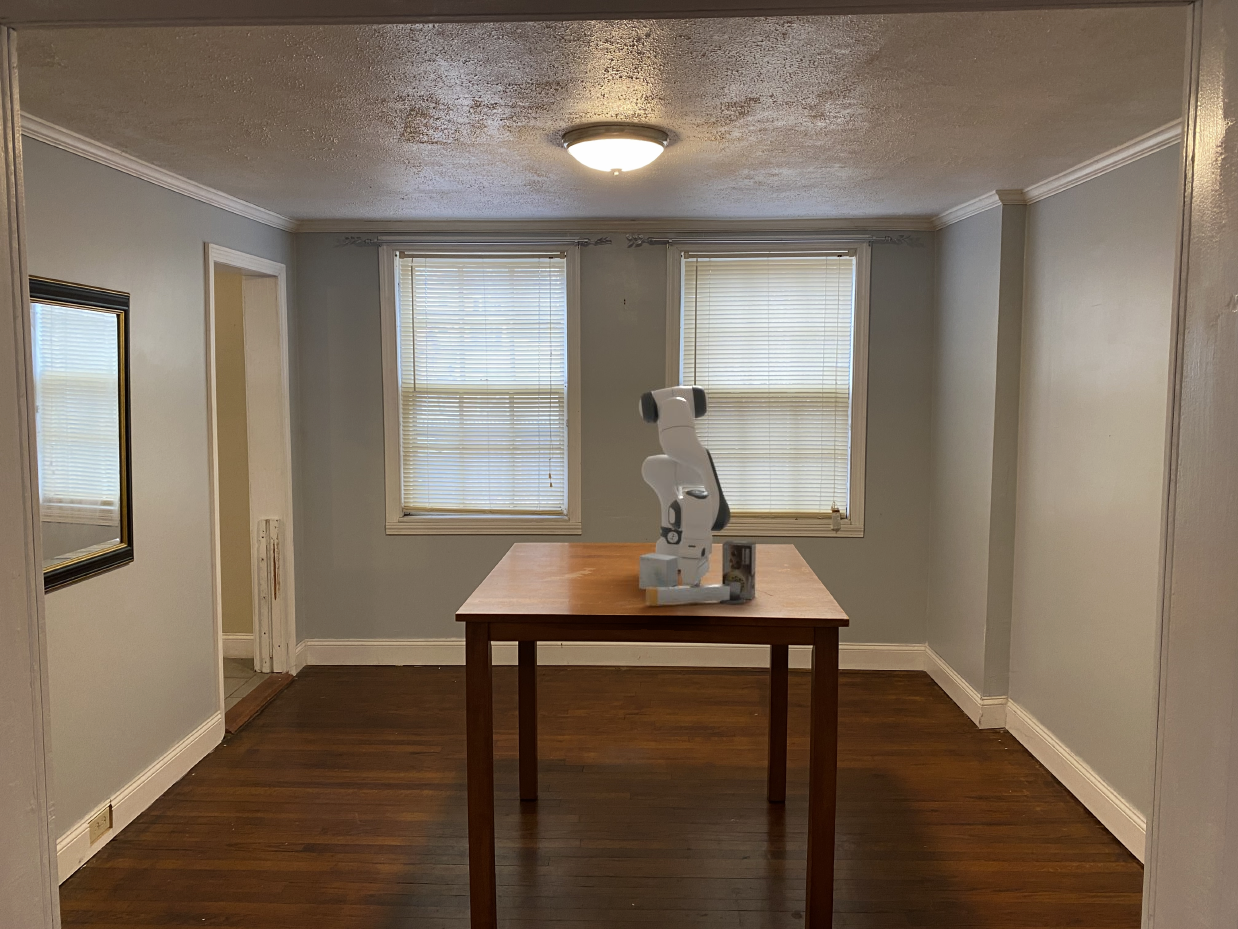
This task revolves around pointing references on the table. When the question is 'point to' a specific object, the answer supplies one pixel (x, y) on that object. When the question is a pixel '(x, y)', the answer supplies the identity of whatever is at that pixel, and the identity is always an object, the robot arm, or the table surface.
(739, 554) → the coffee box
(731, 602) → the hinge base
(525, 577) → the table surface
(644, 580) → the skincare box
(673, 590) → the grey long bar
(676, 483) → the robot arm
